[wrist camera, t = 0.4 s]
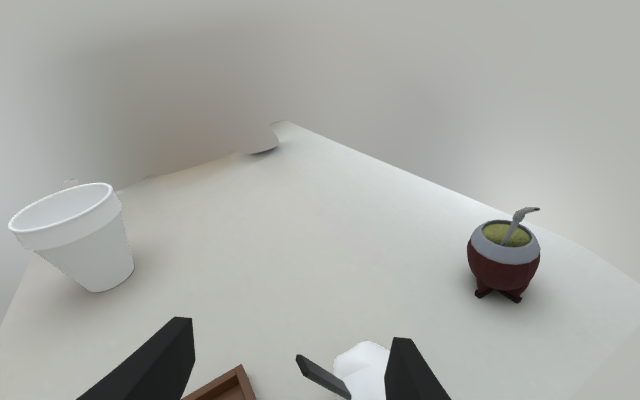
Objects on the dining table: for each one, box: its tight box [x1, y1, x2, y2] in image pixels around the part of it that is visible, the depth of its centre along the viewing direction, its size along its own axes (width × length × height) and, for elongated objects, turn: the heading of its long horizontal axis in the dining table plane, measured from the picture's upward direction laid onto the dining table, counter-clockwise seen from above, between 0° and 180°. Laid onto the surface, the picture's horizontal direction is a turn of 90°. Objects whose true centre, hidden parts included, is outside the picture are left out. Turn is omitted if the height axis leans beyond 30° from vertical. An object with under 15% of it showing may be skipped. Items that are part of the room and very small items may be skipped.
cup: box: [8, 183, 134, 292], centre depth 46 cm, size 12×12×14 cm
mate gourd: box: [467, 207, 540, 303], centre depth 33 cm, size 8×8×15 cm
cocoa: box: [296, 340, 390, 400], centre depth 25 cm, size 10×6×12 cm, turn 96°
